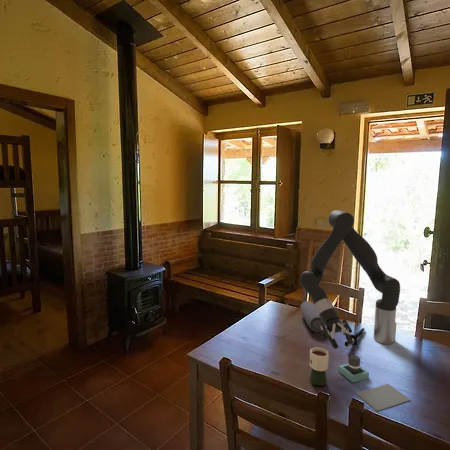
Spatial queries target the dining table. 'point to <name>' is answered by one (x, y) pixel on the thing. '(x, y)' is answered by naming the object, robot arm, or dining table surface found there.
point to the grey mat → (382, 397)
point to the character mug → (318, 365)
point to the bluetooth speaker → (311, 315)
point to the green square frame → (353, 378)
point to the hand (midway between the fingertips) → (344, 346)
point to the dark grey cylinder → (354, 364)
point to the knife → (354, 337)
